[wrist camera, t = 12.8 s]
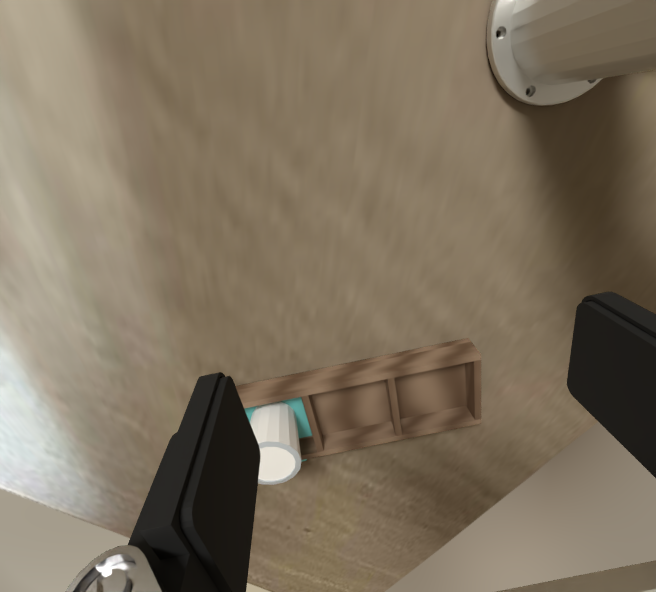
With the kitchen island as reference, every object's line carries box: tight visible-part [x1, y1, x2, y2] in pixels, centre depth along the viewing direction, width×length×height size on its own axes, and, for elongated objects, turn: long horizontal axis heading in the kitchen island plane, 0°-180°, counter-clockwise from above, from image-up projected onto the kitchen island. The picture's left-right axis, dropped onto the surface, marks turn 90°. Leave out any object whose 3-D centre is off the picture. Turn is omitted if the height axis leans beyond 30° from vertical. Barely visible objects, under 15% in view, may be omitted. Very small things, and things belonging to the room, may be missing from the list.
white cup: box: [250, 401, 301, 484], centre depth 43 cm, size 7×7×7 cm
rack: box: [235, 338, 481, 462], centre depth 45 cm, size 31×12×3 cm, turn 101°
